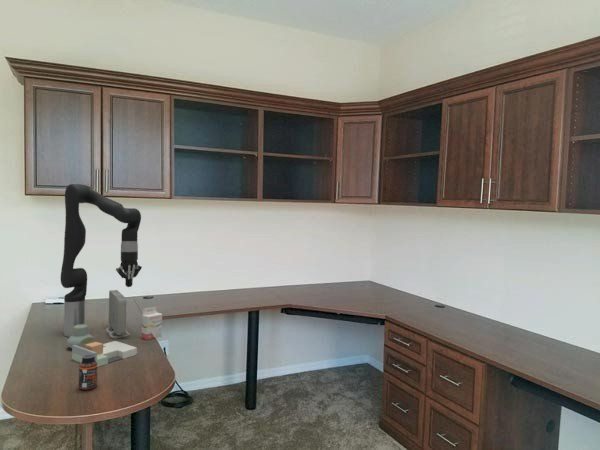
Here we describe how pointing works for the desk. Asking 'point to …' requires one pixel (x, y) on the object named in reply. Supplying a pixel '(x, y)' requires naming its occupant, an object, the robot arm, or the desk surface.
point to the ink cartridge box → (151, 324)
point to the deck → (105, 353)
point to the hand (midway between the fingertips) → (128, 286)
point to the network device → (117, 314)
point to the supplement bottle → (88, 373)
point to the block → (95, 347)
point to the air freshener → (80, 336)
